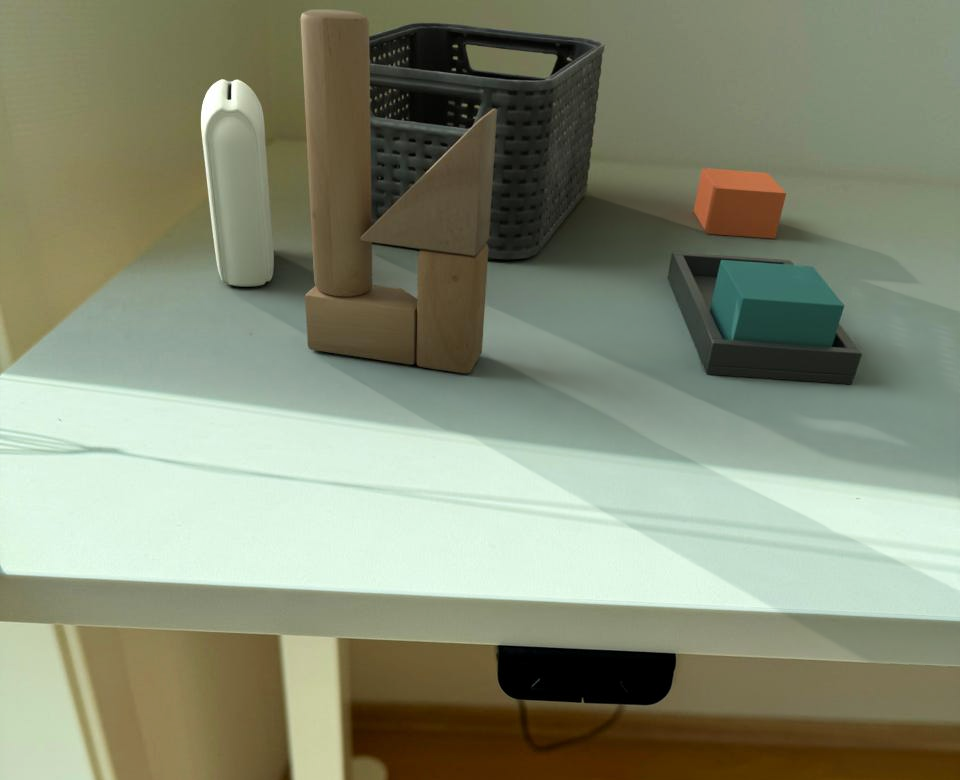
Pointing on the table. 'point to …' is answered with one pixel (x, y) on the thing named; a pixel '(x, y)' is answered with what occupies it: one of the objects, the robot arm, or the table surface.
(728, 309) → the teal block
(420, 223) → the wooden block
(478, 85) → the storage bin
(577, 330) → the table surface
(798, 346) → the frame
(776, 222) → the orange block
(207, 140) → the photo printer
